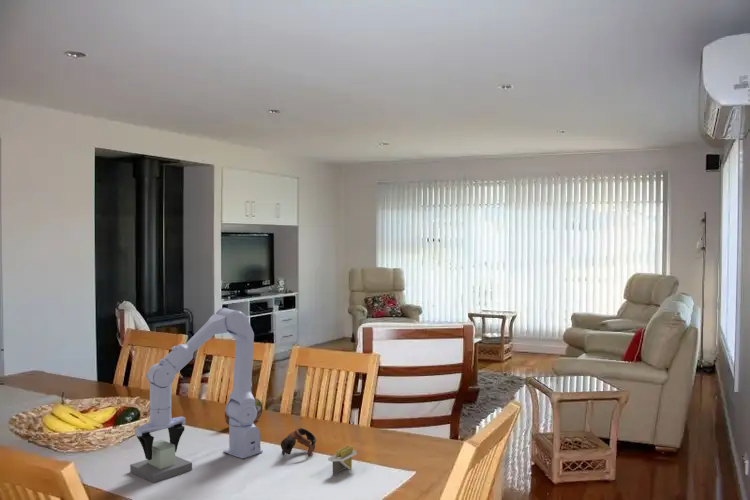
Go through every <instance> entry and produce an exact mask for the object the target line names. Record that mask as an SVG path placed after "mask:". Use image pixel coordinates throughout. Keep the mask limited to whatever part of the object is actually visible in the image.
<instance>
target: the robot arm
mask: <svg viewBox="0 0 750 500" xmlns="http://www.w3.org/2000/svg"><path fill="white" fill-rule="evenodd" d="M227 333H228V334H229V335H230V336H231V337H233V338H234V339H235V347H234V348H235V350H234V366H233V368H234V369H233V380H232V381H233V383H232V391H231V392H230V394H229V395H228V400H227V404H226V405H225V411H226V414H227V415H228V417H229V425H228V426H229V427H228V433H229V434H228V437H229V438H228V440H229V441H228V442H229V445H228V447H229V448H226V449H223V453H226V454H229V455H231V456H234V457H237V458H239V459H246V458H249V457H252V456H254V455H257V454H261V453H263V450H262V449H261V430H260V428H259V427H257V426H256V425H255V424H254V423H255V422H253V421H254V420H255V419H256V416H257V409H256V407H255V399H254V398H255V397H254V395H253V393H252V380H253V379H252V378H253V377H252V376H253V362H254V361H253V358H254V342H255V340H254V339H255V332H254V331H253V328H252V326H251V323H250V321H249V316H247V315H246V314H245V313H244V312H242V311H240V310H235V309H230V308H228V307H222V308H219V309H218V310H217V311H216V312H215V313H214V314H212V315H211V316H210V317H209V319H208V320H207V321H206V322H205V323H204V325H202V326H201V327H200V328H199V329H198V331H196V332H195V334H193V336H191V337H190V339H188V341H187V342H186V343H184V344H182V343H178V344H177V345H174V346H172V347H171V348H170V349H171V351H170V352H169V353H167V354H166V355H165V356H164V357H163V358H160V359H159V360H158V362H157V363H154V364H153V365H150V367H149V368H148V371H147V373H146V374H145V376H146V380H147V381H148V382H149V422H148V423H146V424H144V425H141V426H138V427H135V428H134V435H135V436H136V439H138V441H139V444H140V445H141V447H142V449H143V453H144V457H145V460H147V459H148V460H152V445H153V442H154V439H155V437H154V436H153V435H152V433H154V432H157V431H158V432H159V431H162V430H165V429H167V430H168V435H169V443H171V444H174V445H175V453H177V450H178V446H179V443H180V440H181V437H182V435H183V433H184V431H185V426H184V425H186V417H184V416H182V415H181V416H177V417H172V383H174V381H175V377H176V375H177V374H178V373H179V372H180V371H181V370H182V369H183V368H184V367H186V366H187V365H188V364H189V362H191V361H192V360H193V359H194V352H196V351H197V350H198V349H199V348H201V346H203V345H204V344H205V343H206V342H207V341H209V340H210V339H211V338H212V337H214V336H215V335H217V334H218V335H220V334H227Z"/></svg>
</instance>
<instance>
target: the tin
mask: <svg viewBox="0 0 750 500" xmlns="http://www.w3.org/2000/svg"><path fill="white" fill-rule="evenodd" d="M254 399H255V407H256V409H257V416H256V419H255V420H254V421H253V423H255V422H257V421H258V420H259V419H260V418H261V416H262V413H263V403H262V402H261V400H260V399H259V398H256V397H254ZM224 420H225V423H226V424H227V425H228V426H229V417H228V415H227V414H226V410H225V411H224Z"/></svg>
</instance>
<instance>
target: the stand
mask: <svg viewBox="0 0 750 500" xmlns="http://www.w3.org/2000/svg"><path fill="white" fill-rule="evenodd" d="M129 467H130V469H129V471H130V473H132V474H134V475H136V476H139V477H140V478H143V479H145V480H147V481H148V482H150V483H153V484H154V483H156V482H160V481H162V480H163V481H164V480H165V479H168V478H172V477H175V476H177V475H178V476H179V475H180V474H183V473H187V472H190V471H192V470H193V462H191V461H189V460H187V459H184V458H181V457H179V456H177V455H175V465H172V466H169V467H166V468H162V469H159V468H157V467H155V466H153V465H151V464H149V463H147V459H144V460H142V461H141V460H140V461H138V462H134V463H132V464H130V465H129Z"/></svg>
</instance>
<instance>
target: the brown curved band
mask: <svg viewBox="0 0 750 500" xmlns="http://www.w3.org/2000/svg"><path fill="white" fill-rule="evenodd" d="M305 436H306V437H305ZM316 442H317V438H316V436H315V435H314V434H313V433H312V432H311V431H309V430H307V429H306V428H302V427H297V428H296V429H295V430H293V431H291V432H290V433H289V434H288V435H287V436H286V437H284V438H283V439H282V440H281V442H280V448H281V452H282V455H291V454H292V451H293V448H294V447H295V445H296V443H299V444H301V445H303V446H305V447H306V448H308V450H307V453H306V455H307V456H309V457H310V456H311V455H312V454H313V452H314V451H315V449H316Z"/></svg>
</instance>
